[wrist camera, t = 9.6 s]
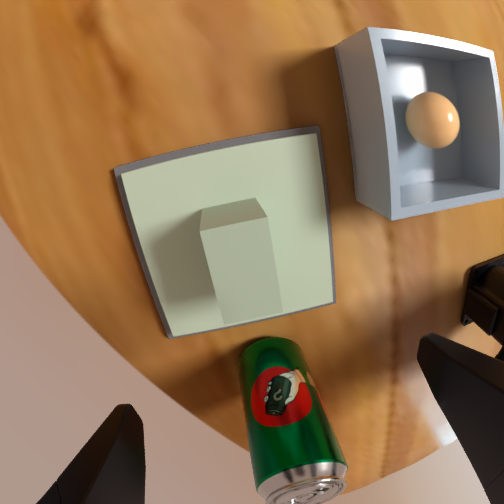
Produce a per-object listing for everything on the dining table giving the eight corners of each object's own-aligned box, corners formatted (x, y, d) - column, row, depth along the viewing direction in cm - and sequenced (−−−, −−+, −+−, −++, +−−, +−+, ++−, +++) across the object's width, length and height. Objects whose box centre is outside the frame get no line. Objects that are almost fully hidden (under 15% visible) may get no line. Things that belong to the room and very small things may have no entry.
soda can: (223, 364, 23) (238, 508, 12) (267, 321, 22) (312, 471, 11) (271, 388, 24) (303, 515, 13) (314, 350, 23) (371, 479, 12)
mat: (317, 125, 17) (319, 125, 17) (334, 300, 22) (336, 302, 21) (115, 167, 16) (113, 168, 16) (169, 335, 21) (169, 338, 21)
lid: (312, 133, 17) (345, 135, 12) (330, 297, 21) (355, 336, 17) (123, 172, 16) (96, 187, 12) (174, 331, 20) (168, 378, 16)
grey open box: (451, 56, 16) (492, 50, 11) (463, 182, 19) (503, 197, 15) (333, 46, 15) (367, 26, 11) (355, 200, 19) (391, 220, 15)
